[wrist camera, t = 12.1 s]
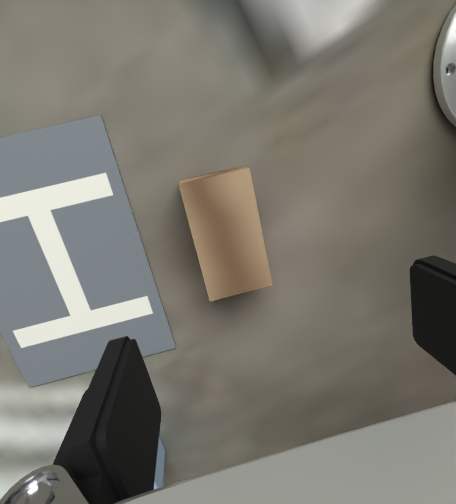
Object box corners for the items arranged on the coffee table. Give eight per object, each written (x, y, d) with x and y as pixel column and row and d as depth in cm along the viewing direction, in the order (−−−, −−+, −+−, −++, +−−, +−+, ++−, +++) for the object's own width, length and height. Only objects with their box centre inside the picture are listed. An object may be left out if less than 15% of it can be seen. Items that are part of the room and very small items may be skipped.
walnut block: (238, 166, 27) (249, 168, 22) (258, 264, 29) (272, 285, 25) (180, 180, 26) (178, 185, 22) (206, 278, 29) (209, 301, 24)
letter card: (101, 115, 24) (100, 115, 24) (175, 346, 30) (175, 348, 30) (-88, 158, 23) (-90, 158, 23) (29, 386, 30) (28, 387, 29)
